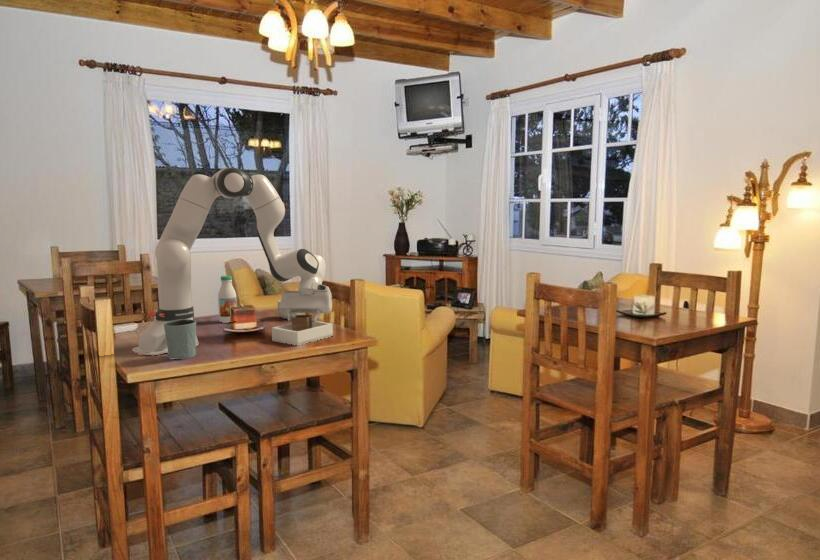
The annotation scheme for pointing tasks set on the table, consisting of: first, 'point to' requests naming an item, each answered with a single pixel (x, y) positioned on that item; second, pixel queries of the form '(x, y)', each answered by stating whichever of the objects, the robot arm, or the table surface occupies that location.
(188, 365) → the table surface
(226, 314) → the milk bottle
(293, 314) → the teacup
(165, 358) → the table surface
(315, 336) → the white crate
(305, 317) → the walnut crate
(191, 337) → the green cup
